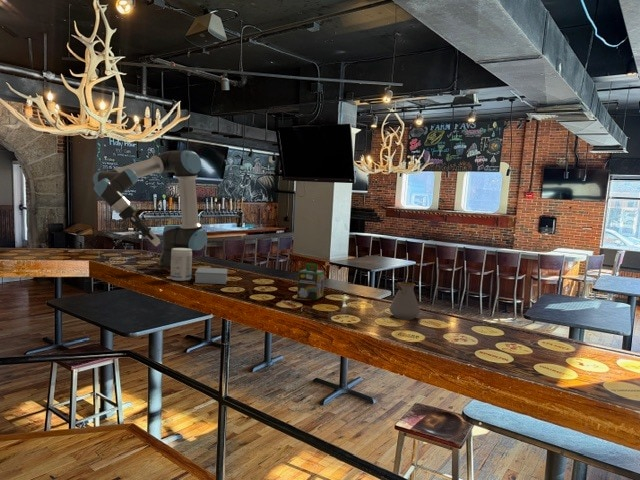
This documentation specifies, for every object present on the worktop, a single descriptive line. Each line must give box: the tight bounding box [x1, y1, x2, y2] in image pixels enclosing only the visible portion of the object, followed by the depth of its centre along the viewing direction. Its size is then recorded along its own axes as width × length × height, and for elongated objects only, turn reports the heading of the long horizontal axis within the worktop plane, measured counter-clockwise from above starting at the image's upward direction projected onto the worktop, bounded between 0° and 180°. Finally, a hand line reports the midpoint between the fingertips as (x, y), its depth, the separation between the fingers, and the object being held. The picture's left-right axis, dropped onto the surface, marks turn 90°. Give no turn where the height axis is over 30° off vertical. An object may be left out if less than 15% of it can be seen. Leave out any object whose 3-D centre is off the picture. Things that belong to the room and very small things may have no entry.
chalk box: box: [296, 262, 325, 301], centre depth 190 cm, size 9×9×15 cm
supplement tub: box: [170, 248, 193, 282], centre depth 209 cm, size 10×10×15 cm
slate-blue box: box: [194, 267, 228, 285], centre depth 212 cm, size 15×14×5 cm
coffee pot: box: [388, 281, 421, 321], centre depth 161 cm, size 21×12×15 cm, turn 153°
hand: (158, 243), depth 205 cm, fingers open, 13 cm apart
